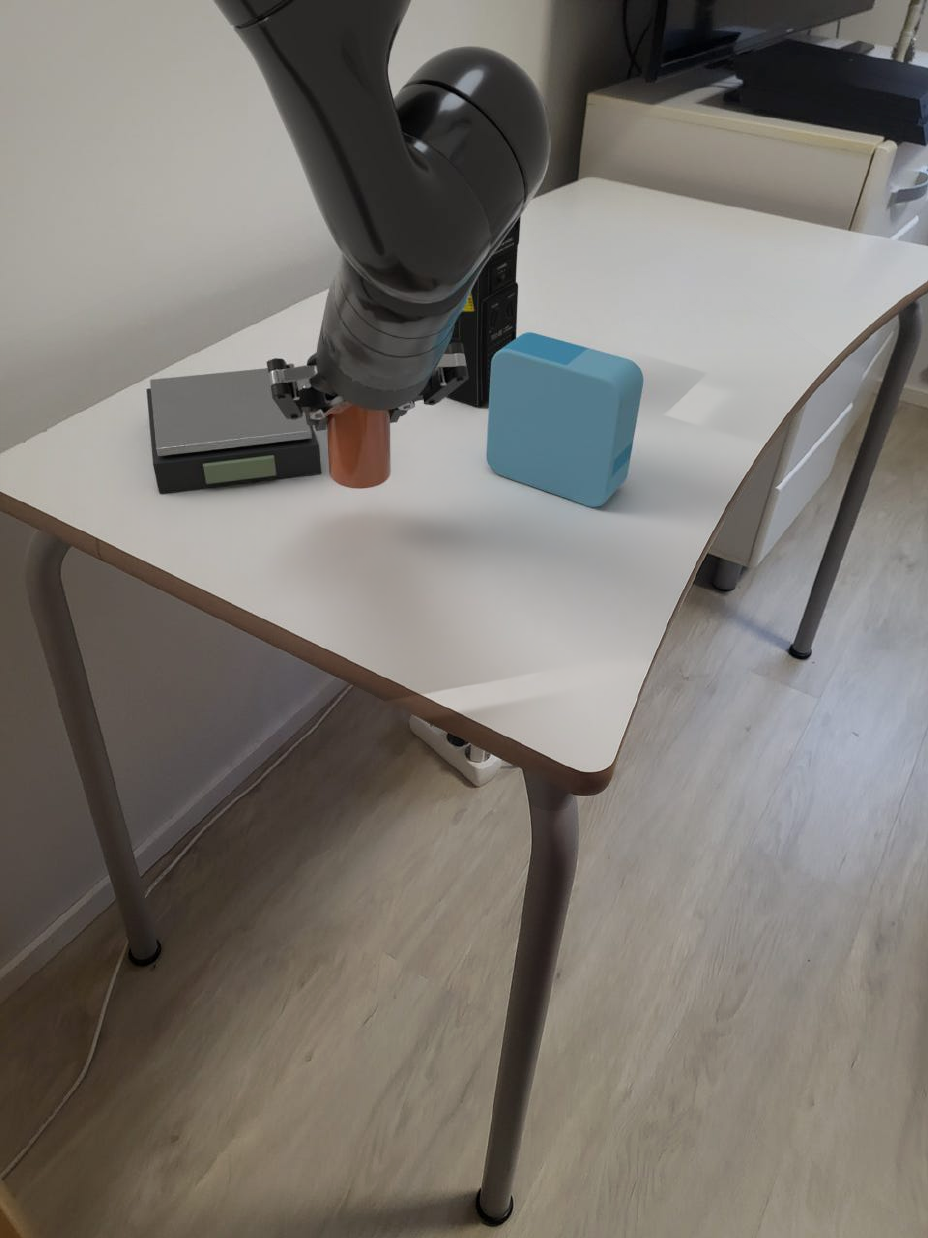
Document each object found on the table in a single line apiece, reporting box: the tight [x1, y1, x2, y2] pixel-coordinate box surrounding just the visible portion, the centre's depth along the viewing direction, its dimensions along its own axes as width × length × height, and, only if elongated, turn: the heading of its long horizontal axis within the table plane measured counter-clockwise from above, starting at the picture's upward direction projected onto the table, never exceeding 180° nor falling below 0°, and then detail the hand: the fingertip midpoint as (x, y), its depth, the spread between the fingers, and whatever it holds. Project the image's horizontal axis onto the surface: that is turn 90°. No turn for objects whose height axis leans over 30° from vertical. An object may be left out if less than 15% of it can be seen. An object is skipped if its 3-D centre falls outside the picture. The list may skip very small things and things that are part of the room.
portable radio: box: [446, 215, 522, 408], centre depth 88 cm, size 8×6×25 cm
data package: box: [485, 331, 644, 508], centre depth 80 cm, size 12×4×12 cm, turn 58°
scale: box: [146, 387, 322, 495], centre depth 86 cm, size 14×14×3 cm
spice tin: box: [326, 405, 392, 490], centre depth 71 cm, size 5×5×8 cm
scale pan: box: [149, 367, 312, 456], centre depth 85 cm, size 13×13×1 cm
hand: (353, 414), depth 73 cm, fingers closed on spice tin, 5 cm apart
